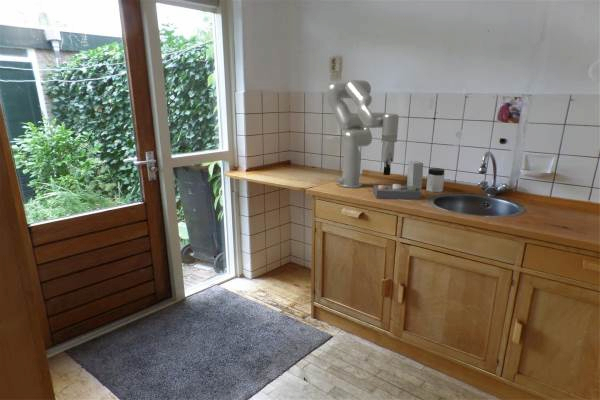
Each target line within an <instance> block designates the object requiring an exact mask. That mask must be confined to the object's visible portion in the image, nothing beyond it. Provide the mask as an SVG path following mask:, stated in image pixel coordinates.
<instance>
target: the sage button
mask: <svg viewBox="0 0 600 400" xmlns="http://www.w3.org/2000/svg"><path fill="white" fill-rule="evenodd" d="M406 186H407V185H406ZM407 190H416V187H415V186H407Z"/></svg>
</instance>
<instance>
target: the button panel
mask: <svg viewBox="0 0 600 400" xmlns="http://www.w3.org/2000/svg"><path fill="white" fill-rule="evenodd" d="M386 186H387V188H386V189H378V185H375V184H373V195H374V197H375V198H376V199H382V200H383V199H385V200H415V201H416V200H417V201H418V200H419V201H420V200H421V197H422V191H421V190H420V189H417V188H416V190H407V185H405V186H404V185H401V190H392V187H393V185H386Z"/></svg>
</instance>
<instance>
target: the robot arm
mask: <svg viewBox="0 0 600 400" xmlns="http://www.w3.org/2000/svg"><path fill="white" fill-rule="evenodd" d="M371 88H372V87H371V84H370V83H369V82H368V81H367V80H361V79H360V80H359V79H357V80H356V79H354V80H350V81H348V82H333V83H331V84H330V85H328V87H327V89H326V100H327V103H328V105H329V106H330V108H331V110H332V112H333V114H334V116H335V119H336V121H337V124H338V126H339V129H341V130H342V131H345V132H344V134H343V136H342V146H343V163H342V176H341V177H339V178H338V177H337V178H336V177H335V178H334V182H337V183H339V186H340V187H342V188H350V189H357V188H361V187H362V183H361V182H360V174H361V173H360V172H361V151H360V149H359V148H361V147H368V146H370V145H371V144H372V142H373V141H372V140H373V136H372V135H373V134H372V132H371V130H370V129H376V128H377V129H379V128H382V129H381V142H382V148H381V149H382V150H381V157H380V159H381V161H382V162H383V173H382V174H383V176H391V168H392V167H391V166H392V163H393V162H394V157H395V156H394V155H395V143H397V142H398V131H399V118H400V117H399V114H397V113H386V112H372V111H371V110H370V109H369V108H368V107H369V106H370V105H371V104H372V101H373V98H372V96H371V95H370V94H371V91H372V89H371ZM343 99H351V100H352V101H353V102H354V104H355V105H356V106H357V109H356V110H357V113H355V112H354V113H352V112H351V111H350V109H349V106H348V105H347V104H346V103H347V102H345V101H344V100H343Z"/></svg>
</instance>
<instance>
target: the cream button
mask: <svg viewBox="0 0 600 400" xmlns="http://www.w3.org/2000/svg"><path fill="white" fill-rule="evenodd" d="M392 186H393V187H392V190H401V186H402V184H400V183H393V184H392Z"/></svg>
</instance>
